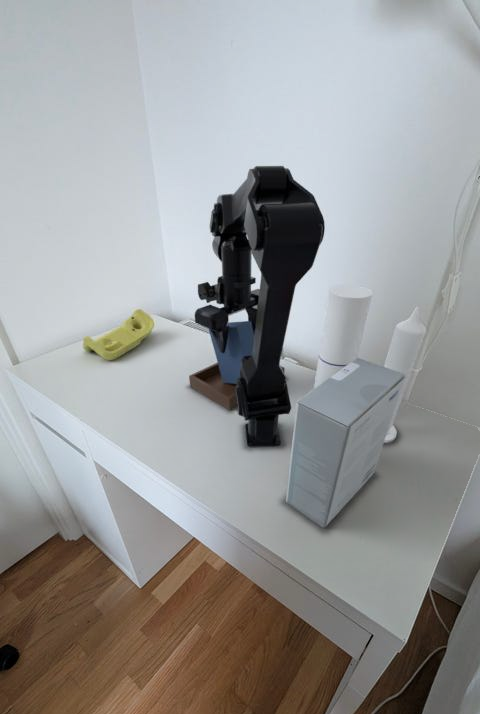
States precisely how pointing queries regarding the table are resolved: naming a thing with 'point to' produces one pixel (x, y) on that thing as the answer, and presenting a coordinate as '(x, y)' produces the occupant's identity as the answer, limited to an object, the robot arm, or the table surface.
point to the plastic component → (121, 336)
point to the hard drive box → (340, 437)
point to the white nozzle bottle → (404, 356)
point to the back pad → (234, 350)
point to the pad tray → (215, 386)
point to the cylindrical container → (342, 329)
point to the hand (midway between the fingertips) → (237, 345)
